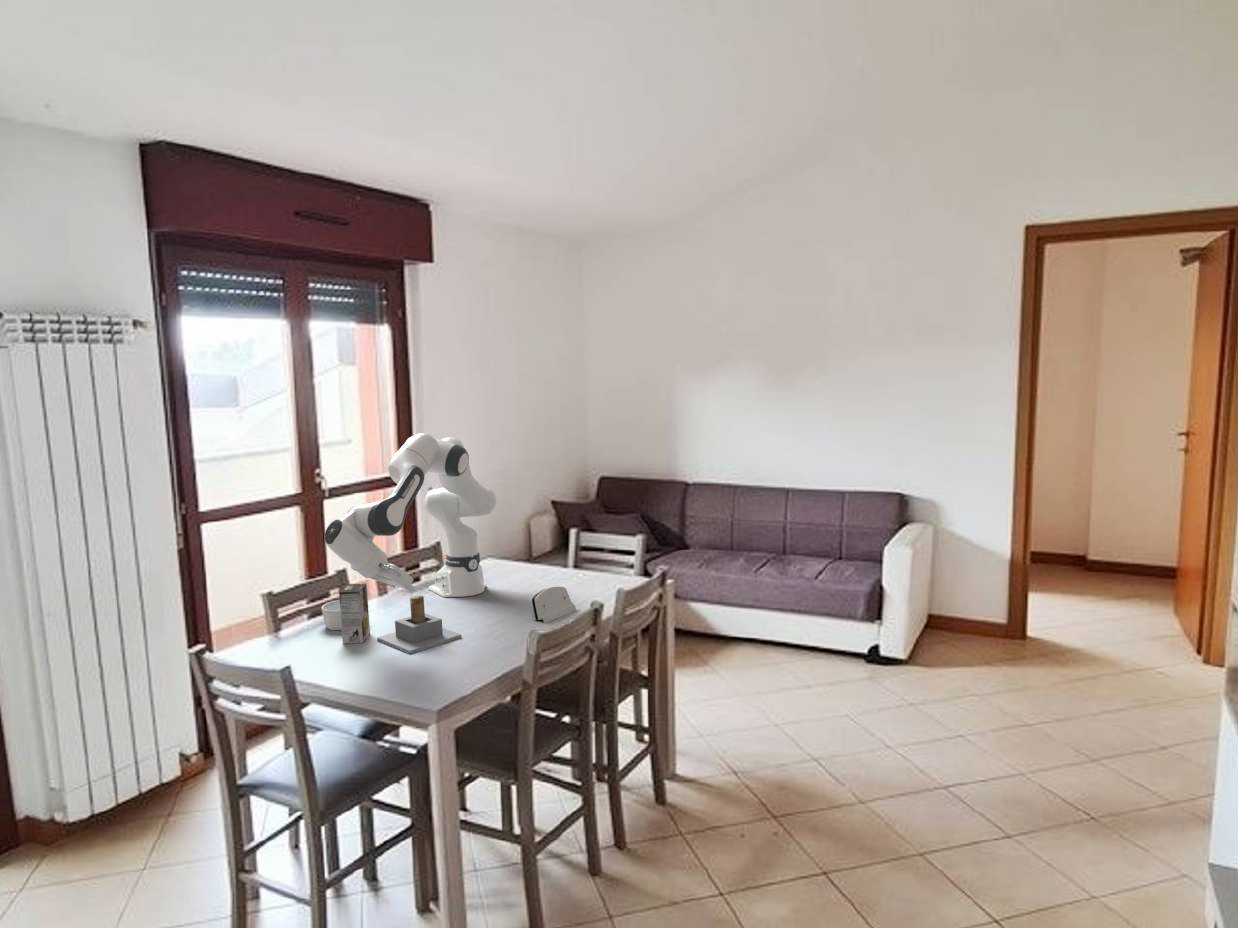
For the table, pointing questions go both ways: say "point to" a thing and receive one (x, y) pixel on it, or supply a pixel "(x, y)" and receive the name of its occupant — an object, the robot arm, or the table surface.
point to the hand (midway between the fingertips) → (403, 588)
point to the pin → (417, 609)
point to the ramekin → (332, 615)
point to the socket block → (418, 634)
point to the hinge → (551, 604)
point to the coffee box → (354, 613)
